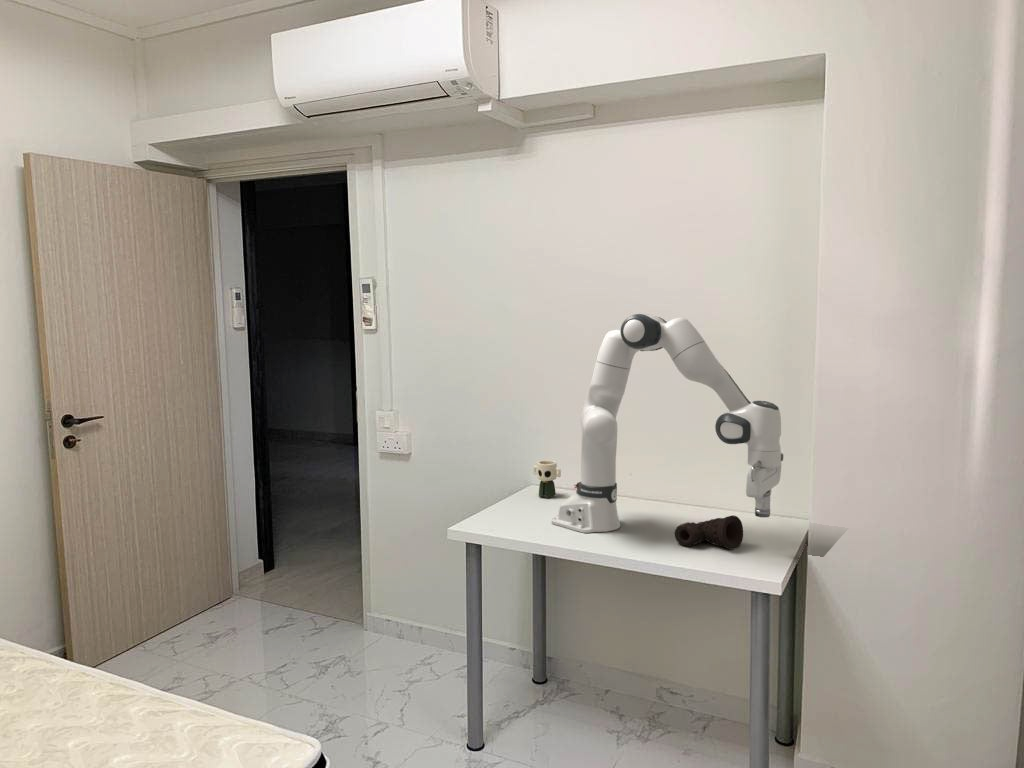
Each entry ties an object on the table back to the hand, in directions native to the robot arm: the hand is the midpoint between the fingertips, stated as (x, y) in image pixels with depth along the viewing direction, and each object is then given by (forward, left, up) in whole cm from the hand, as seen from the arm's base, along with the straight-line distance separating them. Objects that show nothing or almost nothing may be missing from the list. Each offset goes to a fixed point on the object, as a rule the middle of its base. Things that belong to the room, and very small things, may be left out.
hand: (762, 506), depth 221 cm
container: (0, 0, -3) cm, 3 cm away
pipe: (-16, 0, -15) cm, 21 cm away
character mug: (-85, +19, -14) cm, 88 cm away
